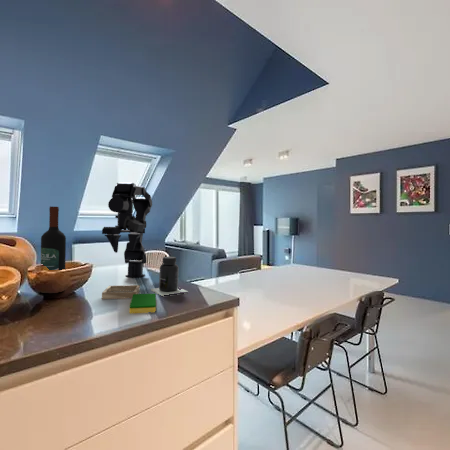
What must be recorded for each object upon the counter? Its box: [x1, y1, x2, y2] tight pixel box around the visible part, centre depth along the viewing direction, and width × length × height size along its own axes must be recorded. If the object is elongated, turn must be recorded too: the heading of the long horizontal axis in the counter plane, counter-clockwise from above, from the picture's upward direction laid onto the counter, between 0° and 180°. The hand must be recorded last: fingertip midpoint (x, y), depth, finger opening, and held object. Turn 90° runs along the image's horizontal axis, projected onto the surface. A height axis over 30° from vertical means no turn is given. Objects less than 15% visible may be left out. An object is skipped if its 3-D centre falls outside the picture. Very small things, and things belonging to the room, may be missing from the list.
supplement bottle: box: [158, 256, 180, 292], centre depth 105 cm, size 7×7×12 cm
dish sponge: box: [128, 292, 157, 315], centre depth 87 cm, size 7×14×2 cm, turn 13°
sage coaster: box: [150, 287, 189, 297], centre depth 105 cm, size 10×10×1 cm
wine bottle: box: [40, 206, 67, 270], centre depth 101 cm, size 8×8×30 cm
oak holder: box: [101, 284, 141, 300], centre depth 99 cm, size 11×11×2 cm
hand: (124, 251), depth 117 cm, fingers open, 9 cm apart
